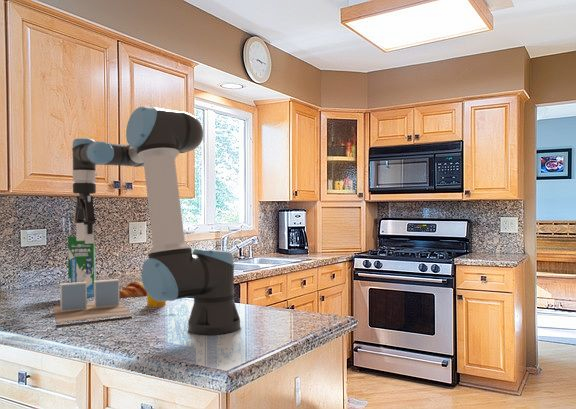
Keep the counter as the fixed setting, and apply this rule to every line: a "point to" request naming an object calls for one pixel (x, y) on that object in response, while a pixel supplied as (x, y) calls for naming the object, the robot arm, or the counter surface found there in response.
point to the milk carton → (82, 263)
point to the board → (90, 314)
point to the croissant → (133, 290)
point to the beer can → (154, 302)
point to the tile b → (106, 293)
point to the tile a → (73, 296)
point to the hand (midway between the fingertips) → (84, 242)
